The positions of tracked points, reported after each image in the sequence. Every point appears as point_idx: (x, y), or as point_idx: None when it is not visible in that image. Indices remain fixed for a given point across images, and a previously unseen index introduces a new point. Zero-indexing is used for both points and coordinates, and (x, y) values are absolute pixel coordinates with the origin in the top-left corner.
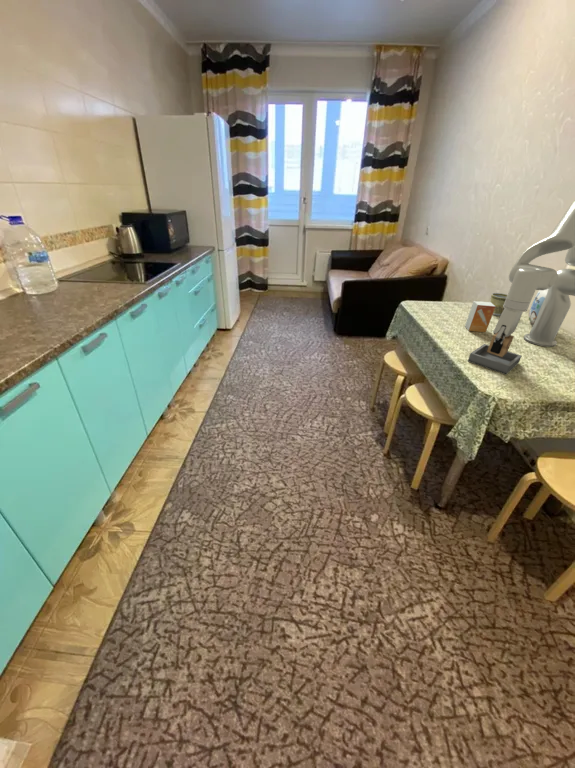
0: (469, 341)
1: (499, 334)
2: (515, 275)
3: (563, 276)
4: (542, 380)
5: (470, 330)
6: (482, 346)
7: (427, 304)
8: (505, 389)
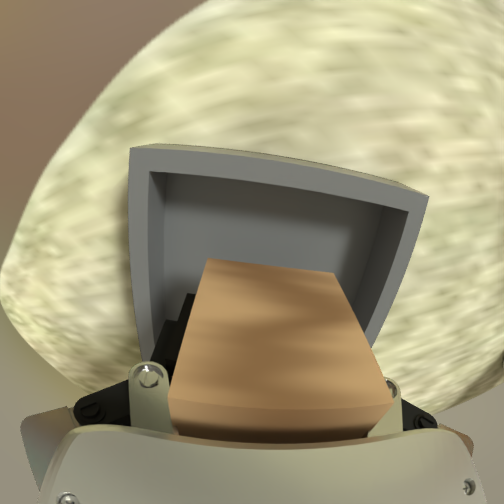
0: (485, 106)
1: (34, 460)
2: None
3: None
4: None
5: None
6: (368, 191)
7: None
8: (53, 339)
